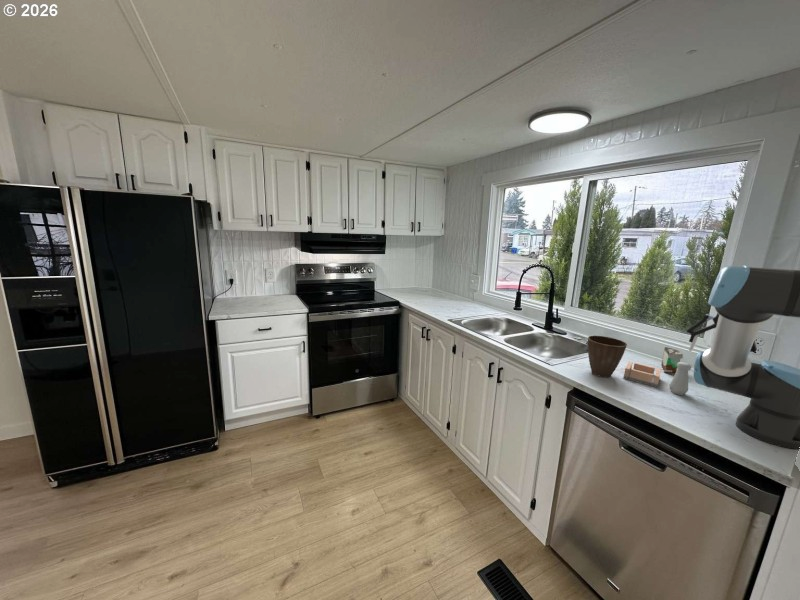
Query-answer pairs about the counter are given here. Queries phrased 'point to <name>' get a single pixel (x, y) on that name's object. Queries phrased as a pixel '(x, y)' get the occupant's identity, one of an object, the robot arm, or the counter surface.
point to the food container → (671, 360)
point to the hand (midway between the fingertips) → (712, 357)
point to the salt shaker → (680, 379)
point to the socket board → (642, 374)
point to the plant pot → (604, 354)
